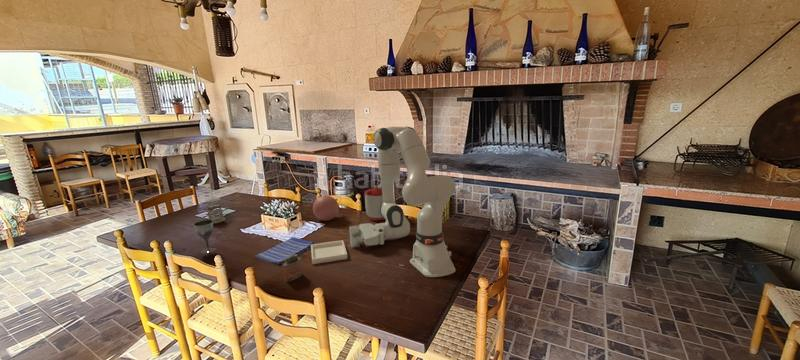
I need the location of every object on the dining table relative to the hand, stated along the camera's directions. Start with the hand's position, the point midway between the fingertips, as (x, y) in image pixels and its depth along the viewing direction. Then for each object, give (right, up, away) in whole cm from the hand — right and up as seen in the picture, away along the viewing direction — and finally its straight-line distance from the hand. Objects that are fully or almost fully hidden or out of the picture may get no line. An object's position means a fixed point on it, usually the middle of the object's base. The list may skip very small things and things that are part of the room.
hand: (352, 235), depth 169 cm
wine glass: (-73, -8, +1) cm, 73 cm away
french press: (-90, +3, +41) cm, 99 cm away
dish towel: (-33, -8, -2) cm, 34 cm away
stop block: (+1, -5, +2) cm, 6 cm away
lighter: (-21, -14, -26) cm, 37 cm away
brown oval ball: (-20, +4, +39) cm, 44 cm away
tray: (-11, -8, -7) cm, 15 cm away
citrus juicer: (+11, +5, +39) cm, 41 cm away
